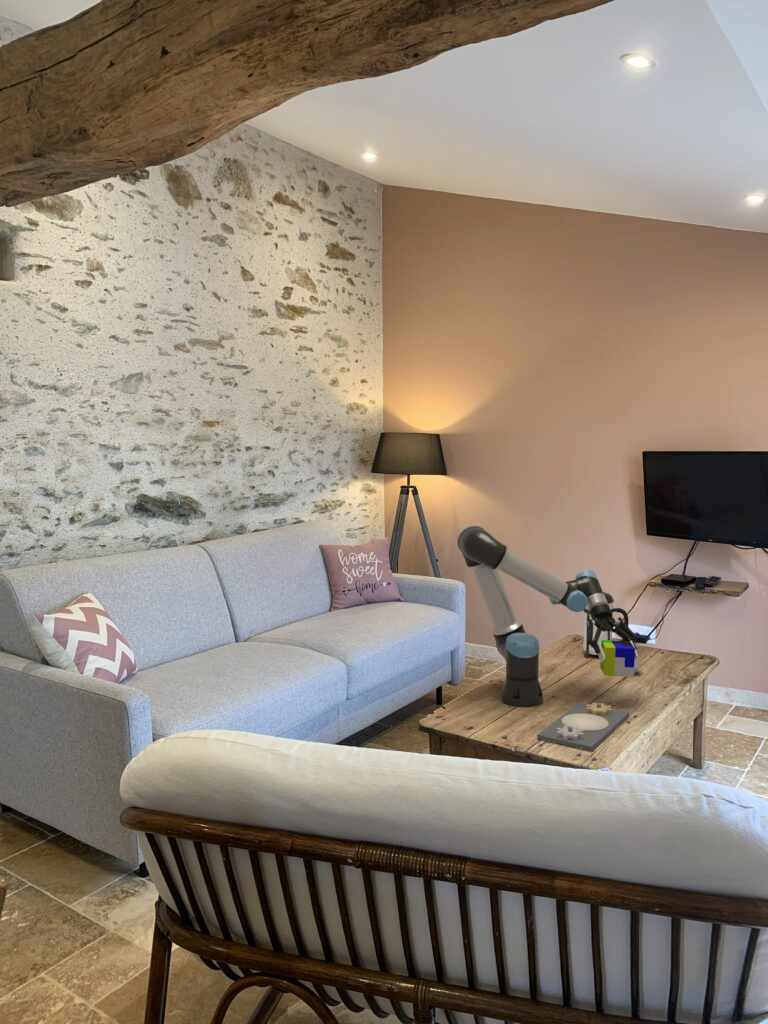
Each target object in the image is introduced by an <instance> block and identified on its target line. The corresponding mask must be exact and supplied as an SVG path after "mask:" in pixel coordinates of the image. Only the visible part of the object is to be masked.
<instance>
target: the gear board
mask: <svg viewBox="0 0 768 1024" xmlns="http://www.w3.org/2000/svg"><path fill="white" fill-rule="evenodd" d="M629 717H630V711H626V710H620V709H616V708H612V706H611V705H606V704H605V703H601V702H592V703H591V704H589V703H585V702H584V703H583V702H578V703H577V704H575V705H574V706H573V707H571V708H570V709H568V710H567V711H566V712H565V713H563V714H562V715H561V716H559V717H558V718H557V719H556V720H554V721H553V722H551V723H550V724H549V725H548V726H546V727H545V728H544V729H543V730H541V731H540V732H539V733H538V734H537V735H536V736H537V737H536V739H537V740H538V739H541V740H540V741H542V740H545V741H544V742H547V741H550V742H549V743H551V742H555V743H554V744H556V743H559V744H558V745H560V744H564V745H563V746H565V745H568V746H567V747H569V746H573V747H572V748H574V747H577V748H576V749H578V748H582V749H581V750H583V749H585V750H584V751H587V750H589V751H588V752H593V751H594V750H596V748H598V746H600V745H601V744H602V743H603V742H604V741H605V740H606V739H607V738H608V737H609V736H611V734H612V733H613V732H614V731H616V729H618V728H619V727H620V726H621V725H622V724H623V723H624V722H625V721H626V720H627V719H628V718H629Z"/></svg>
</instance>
